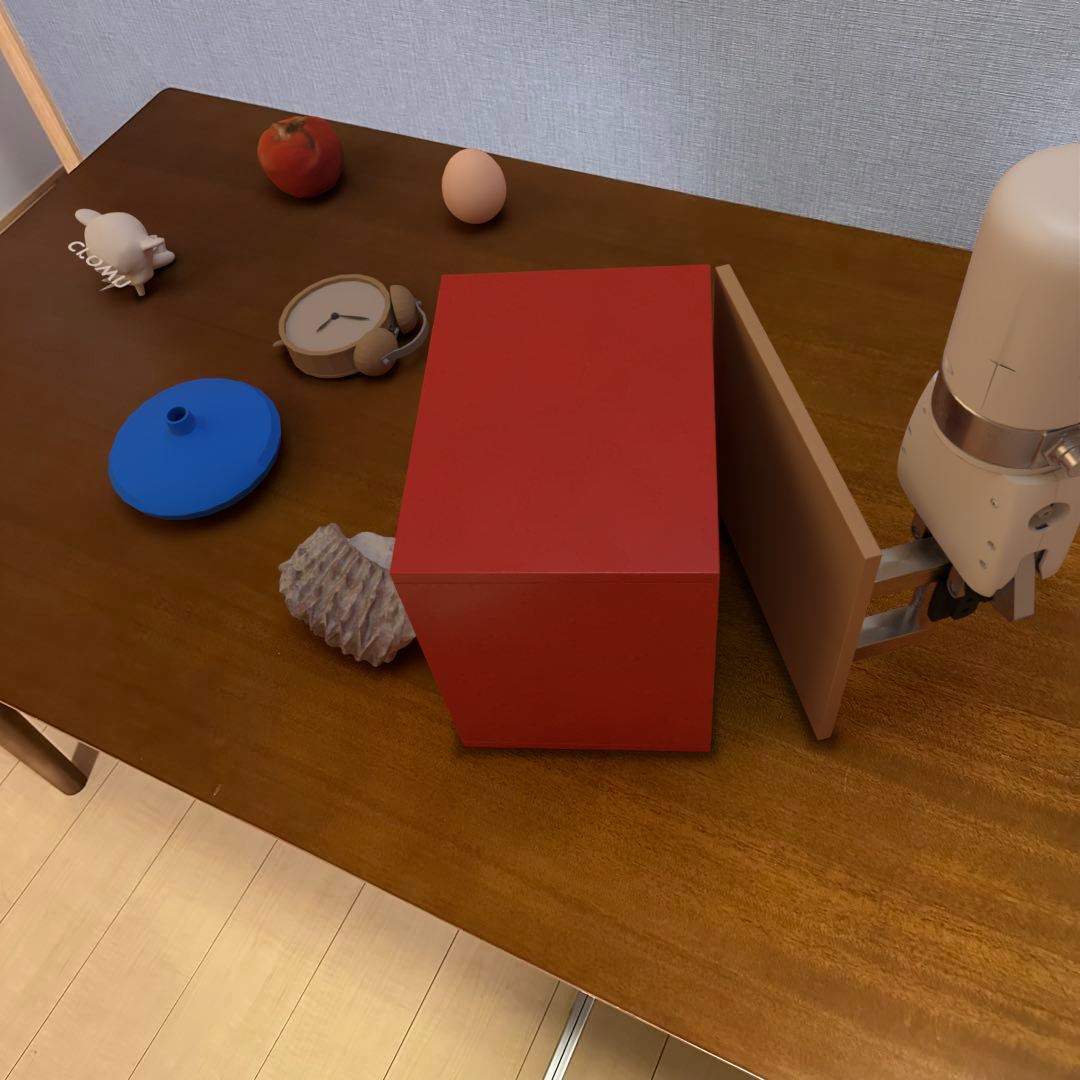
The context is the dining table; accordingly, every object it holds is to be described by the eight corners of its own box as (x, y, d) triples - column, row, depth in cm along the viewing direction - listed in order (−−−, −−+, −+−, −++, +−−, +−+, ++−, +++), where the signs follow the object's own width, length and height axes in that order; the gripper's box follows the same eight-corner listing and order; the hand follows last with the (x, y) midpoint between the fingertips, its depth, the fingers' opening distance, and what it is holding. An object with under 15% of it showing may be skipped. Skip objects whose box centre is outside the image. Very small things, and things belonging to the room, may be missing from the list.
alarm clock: (306, 269, 105) (435, 269, 99) (328, 307, 109) (453, 308, 103) (255, 349, 99) (389, 353, 93) (280, 385, 103) (409, 392, 97)
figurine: (133, 257, 117) (56, 287, 110) (120, 183, 112) (38, 210, 105) (209, 290, 112) (134, 323, 106) (200, 214, 107) (119, 244, 100)
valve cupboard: (704, 484, 88) (710, 263, 69) (710, 752, 75) (720, 573, 55) (494, 487, 91) (441, 274, 71) (463, 747, 77) (388, 573, 58)
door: (798, 461, 88) (831, 237, 69) (924, 711, 75) (1009, 520, 55) (707, 485, 88) (714, 266, 69) (817, 741, 74) (865, 559, 55)
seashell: (480, 591, 81) (391, 565, 73) (424, 695, 82) (330, 680, 74) (373, 514, 90) (284, 483, 82) (324, 608, 91) (231, 587, 83)
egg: (497, 242, 109) (485, 178, 102) (439, 233, 111) (424, 169, 104) (519, 201, 112) (509, 136, 106) (463, 193, 114) (449, 129, 107)
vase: (275, 380, 101) (250, 326, 95) (305, 501, 92) (280, 450, 86) (115, 431, 100) (80, 380, 94) (130, 559, 91) (93, 511, 85)
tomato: (273, 166, 121) (249, 103, 114) (351, 153, 120) (332, 89, 114) (269, 217, 115) (244, 155, 109) (351, 204, 115) (331, 140, 108)
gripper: (1191, 494, 47) (1067, 680, 62) (994, 272, 56) (928, 482, 71) (1039, 547, 46) (951, 722, 61) (865, 313, 55) (825, 516, 70)
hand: (939, 592), depth 66 cm, fingers closed on door, 2 cm apart
